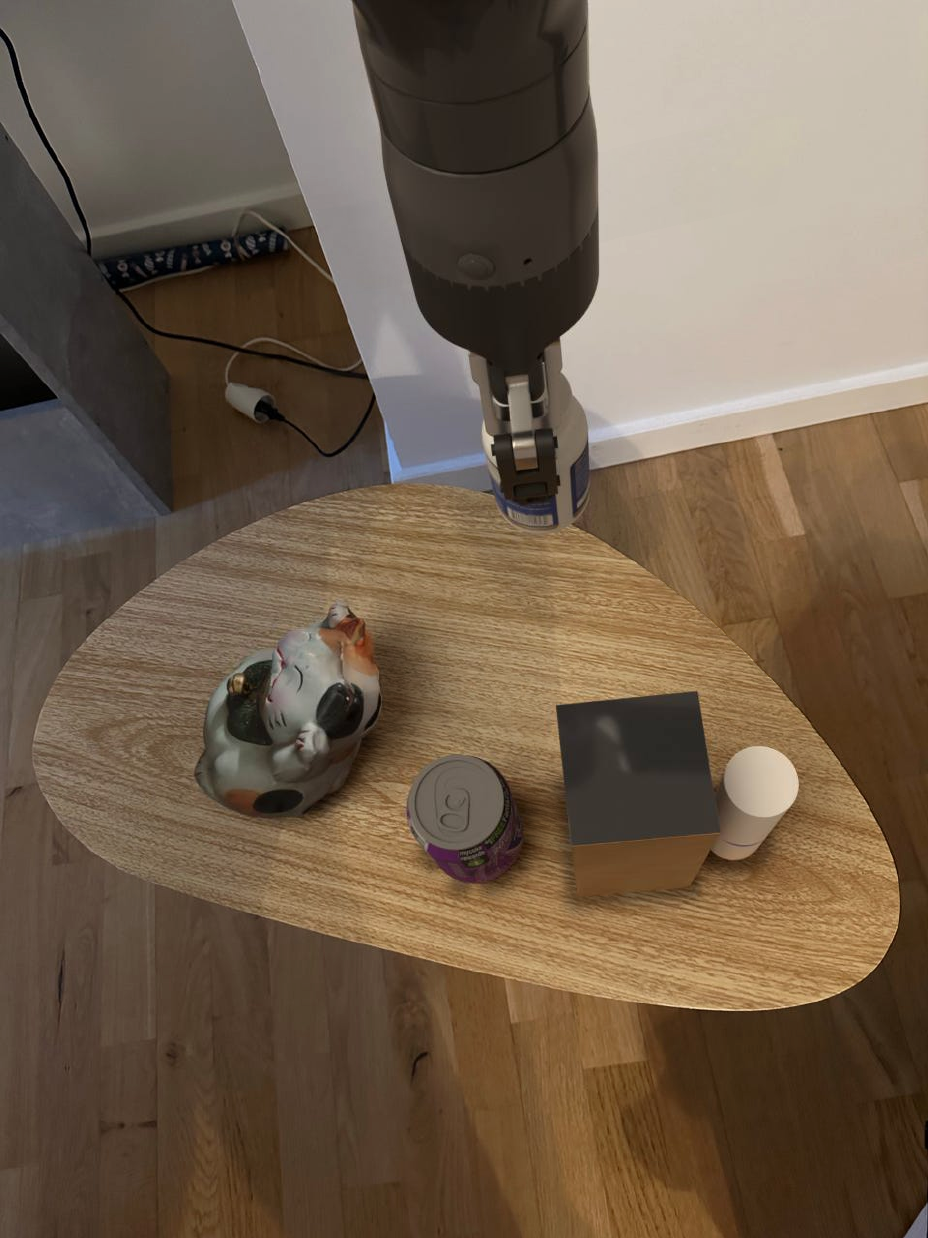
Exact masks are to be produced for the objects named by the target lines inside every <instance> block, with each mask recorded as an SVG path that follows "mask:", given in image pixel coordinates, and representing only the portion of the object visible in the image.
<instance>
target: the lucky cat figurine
mask: <svg viewBox="0 0 928 1238" xmlns="http://www.w3.org/2000/svg"><path fill="white" fill-rule="evenodd" d="M379 676H380V671H379V669H378V666H377V665H376V663H375V645H374V641H373V638H372V636H371V632H370V631H369V630H368V628H367V626H366V622H365V620H364V618H363V617H358V616H357V615H356V614H355V613H354V612H353V611H352V610H351V609H350V606H349V605H348V603H347V601H345V600H344V601H342V600H339V599H338V598H337V599H335V603H333V604H332V605H331V606H330V608H329V609H328V612H327V616H326V617H325V618H321V619H319V620H316V621H314V622H313V623H311V625H310V626H307V627H300V628H297V629H293V630H288V631H287V632H286V633H285V634H284V635H283V636H281V637H280V638H279V640H278V642H277V645H276V647H274V646H273V647H265V648H259V649H258V650H257V649H256V651H254V652H252V653H251V654H249V655H247V656H246V657H245V658H244V659H243V660H242V661H241V662H240V663H239V665H238V667H237V668H236V669H235V670H234V671H233V672H232V673H227V674H225V675H223V677H222V681H221V683H220V684H219V685H218V687H216V689H214V691H213V693H212V695H211V697H210V698H209V700H208V702H207V705H206V708H205V715H204V719H203V725H202V738H203V744H204V748H203V749H204V750H203V752H202V754H201V755H200V757H199V759H198V760H197V762H196V765H195V768H194V771H193V777H194V779H195V780H196V782H197V785H198V786H199V788H200V790H202V792H203V793H204V794H205V795H206V796H207V797H209V798H210V799H212V800H213V801H215V802H216V803H218V805H221V806H222V807H225V808H227V809H228V810H230V811H233V812H235V813H237V814H238V813H239V814H240V815H243V816H246V817H252V818H258V819H259V818H260V819H279V818H282V819H284V818H294V819H295V818H304V817H305V816H306V814H308V813H309V811H311V809H312V808H313V807H315V805H316V804H317V803H318V802H320V801H321V800H322V799H324V798H326V797H328V796H331V795H333V794H334V793H336V792H337V791H338V790H340V789H341V788H342V787H343V786H344V785H345V783H346V782H347V781H346V780H347V778H348V776H349V774H350V771H351V767H352V765H353V763H354V760H355V758H356V757H357V755H358V753H359V750H360V747H361V743H362V739H364V738H365V737H366V736H368V734H370V732H371V731H372V730H373V729H374V727H375V725H376V723H377V721H378V719H379V717H380V716H381V712H382V707H383V706H382V705H383V697H382V693H381V687H380V682H379V679H380V677H379Z"/></svg>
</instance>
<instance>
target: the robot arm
mask: <svg viewBox="0 0 928 1238" xmlns="http://www.w3.org/2000/svg"><path fill="white" fill-rule="evenodd" d="M350 1H351V3H352V4H351V5H352V11H353V18H354V24H355V29H356V33H357V37H358V39H357V40H358V43H359V49H360V53H361V57H362V61H363V65H364V69H365V73H366V78H367V81H368V85H369V88H370V94H371V97H372V102H373V106H374V109H375V113H376V114H375V115H376V119H377V122H378V127H379V133H380V145H381V146H380V147H381V160H382V168H383V173H384V177H385V178H384V179H385V184H386V188H387V192H388V195H389V199H390V204H391V208H392V211H393V215H394V220H395V222H396V223H395V224H396V226H397V231H398V236H399V240H400V243H401V247H402V251H403V255H404V258H405V263H406V266H407V271H408V274H409V279H410V283H411V286H412V290H413V293H414V298H415V301H416V304H417V307H418V310H419V311H420V314H421V315H422V317H423V318H424V320H425V321H426V323H427V324H428V325H429V326H430V328H432V330H433V331H434V332H435V333H436V334H438V335H439V336H440V337H441V338H443V339H444V340H446V341H447V342H449V343H450V344H453V345H454V346H456V347H459V348H461V349H464V350H466V351H467V355H468V362H469V368H470V375H471V379H472V381H473V382H474V383H475V384H476V385H477V386H478V388H479V394H480V395H479V396H480V402H481V408H482V415H483V420H484V422H485V429H486V432H487V434H488V435H490V436H492V437H493V439H494V444H491V452H492V456H495V457H496V463H497V467H498V472H499V476H500V480H501V482H500V489H501V493H504V497H505V500H512V501H513V502H515V503H519V505H520V506H526V505H534V504H543V503H548V500H549V499H551V498H553V497H554V496H555V494H558V486H561V484H560V475H557V471H556V460H557V451H556V449H557V448H558V441H557V436H554V437H553V431H554V430H555V429H557V428H558V427H559V426H560V425H561V422H562V419H561V408H560V397H559V386H558V374H559V373H560V372H562V370H563V355H562V354H563V353H562V344H561V343H562V342H561V338H562V336H563V335H565V334H566V333H567V332H569V330H571V329H572V328H573V327H574V326H575V325H576V324H577V323H578V322H580V320H581V319H582V318H583V316H584V315H585V314H586V312H587V310H588V309H589V308H590V305H592V302H593V300H594V298H595V296H596V292H597V288H598V285H599V278H600V220H599V219H600V218H599V217H600V216H599V215H600V214H599V213H600V212H599V211H600V210H599V207H600V206H599V146H598V145H599V144H598V131H597V123H596V117H595V113H594V107H593V102H592V96H591V87H590V33H589V32H590V31H589V30H590V29H589V27H590V26H589V0H350ZM543 364H544V366H545V376H546V386H547V395H546V397H545V399H544V400H542V401H540V402H537V403H531V402H534V401H536V400H538V399H539V398H540V397H541V396H542V395H543V393H544V390H545V381H544V371H543ZM494 398H495V399H496V401H498V402H499V403H501V404H503V405H509V406H505V407H504V406H500V405H498V404H496V402H495V401H494ZM555 448H556V449H555Z"/></svg>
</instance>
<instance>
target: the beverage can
mask: <svg viewBox="0 0 928 1238" xmlns="http://www.w3.org/2000/svg"><path fill="white" fill-rule="evenodd" d="M405 806H406V807H405V812H406V813H405V814H406V815H405V816H406V820H407V825H408V827H409V830H410V832H411V835H412V836H413V838H414V840H415V841H416V843H417V844H418V845H419V847H421V849H422V850H424V852H425V853H426V854H427V855H428V856H429V858H430V859H431V860H432V861H433V862H434V864H436V866H437V867H438V868H439V869H440V870H441V871H442V872H443V873H445V874H446V875H447V876H449V877H450V878H452V879H454V880H456V881H459V882H461V883H466V884H483V883H488V882H491V881H493V880H496V879H497V878H500V877H501V876H503V875H504V874H505V873H507V872H508V871H509V870H510V869H511V868H512V867H513V866H514V864H515V862H516V861H517V859H518V857H519V855H520V853H521V851H522V847H523V842H524V826H523V821H522V818H521V815H520V812H519V809H518V806H517V804H516V801H515V798H514V796H513V792H512V790H511V788H510V785H509V783H508V781H507V780H506V777H505V776H504V775H503V774H502V772H500V770H499V769H498V768H497V767H495V766H494V765H493V764H492V763H490V762H488V761H487V760H485V759H483V758H481V757H478V756H475V755H471V754H462V753H454V754H453V753H452V754H447V755H442V756H441V757H438V758H435V759H434V760H432V761H430V762H429V763H427V764H426V765H425V766H424V767H423V768H422V769H421V770H420V771H419V772H418V773H417V775H416V776H415V778H414V780H413V782H412V784H411V786H410V789H409V791H408V795H407V798H406V805H405Z"/></svg>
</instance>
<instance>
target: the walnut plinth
mask: <svg viewBox="0 0 928 1238" xmlns="http://www.w3.org/2000/svg"><path fill="white" fill-rule="evenodd" d="M718 835H719V834H712V835H701V836H689V837H678V838H667V839H656V840H645V841H634V842H623V843H611V844H600V845H589V846H578V847H571V846H570V851H571V858H572V866H573V871H574V872H573V873H574V879H575V886H576V894H577V897H580V898H581V897H590V896H592V897H593V896H603V895H604V896H605V895H615V894H625V893H626V894H627V893H637V892H639V893H640V892H649V891H662V890H673V889H685V888H691V885H692V884H693V882H694V880H695V878H696V876H697V875H698V872H699V871H700V869H701V868H702V866H703V864H704V862H705V860H706V859H707V856H708V855H709V853H710V851H711V850H710V849H711V848H712V846H713V844H714V842H715V840H716V839H717V837H718Z"/></svg>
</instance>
